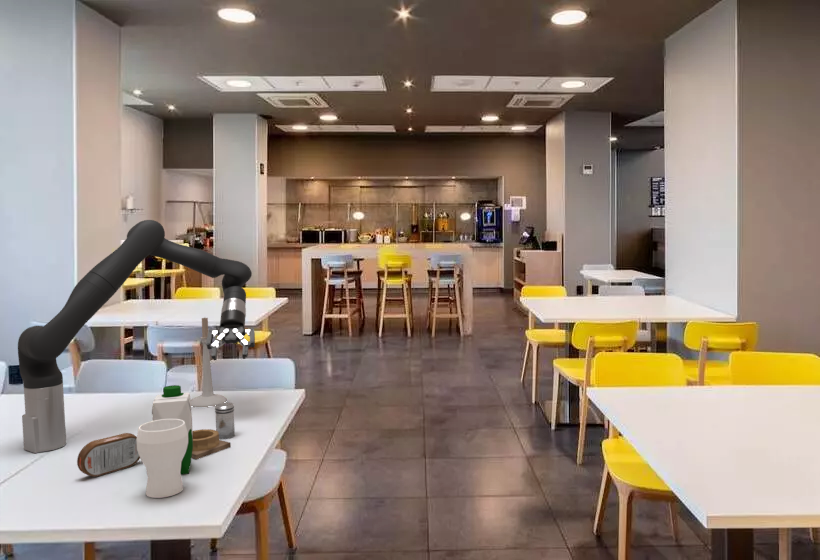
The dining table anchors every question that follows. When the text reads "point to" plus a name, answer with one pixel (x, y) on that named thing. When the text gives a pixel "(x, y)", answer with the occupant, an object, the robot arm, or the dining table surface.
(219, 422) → the salt shaker
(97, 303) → the robot arm
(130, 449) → the tin
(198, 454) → the ring board
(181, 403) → the milk carton
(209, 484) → the dining table surface
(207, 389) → the candlestick
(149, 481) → the cup
